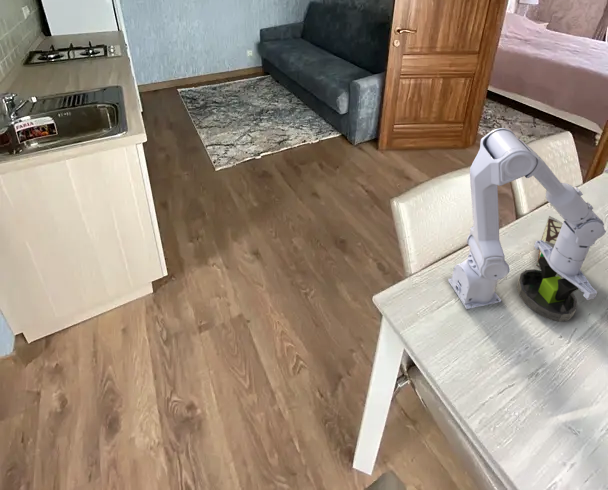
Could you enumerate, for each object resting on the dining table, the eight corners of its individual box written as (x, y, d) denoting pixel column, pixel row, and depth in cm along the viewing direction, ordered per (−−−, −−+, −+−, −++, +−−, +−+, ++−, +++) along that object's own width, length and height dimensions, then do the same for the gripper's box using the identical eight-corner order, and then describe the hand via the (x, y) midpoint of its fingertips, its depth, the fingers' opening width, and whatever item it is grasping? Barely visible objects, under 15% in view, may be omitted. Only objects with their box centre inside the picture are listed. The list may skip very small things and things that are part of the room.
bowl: (571, 333, 77) (575, 324, 76) (512, 302, 84) (515, 293, 82) (574, 295, 85) (578, 287, 84) (520, 269, 92) (523, 261, 91)
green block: (548, 303, 83) (554, 290, 81) (538, 291, 86) (543, 278, 84) (564, 300, 84) (570, 287, 82) (553, 288, 87) (558, 275, 85)
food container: (563, 283, 88) (575, 254, 85) (535, 270, 92) (545, 242, 88) (565, 251, 97) (576, 224, 94) (539, 241, 101) (549, 214, 97)
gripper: (616, 275, 73) (595, 317, 78) (557, 224, 86) (542, 264, 91) (588, 281, 72) (569, 323, 77) (533, 228, 85) (519, 268, 90)
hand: (553, 291), depth 84 cm, fingers closed on green block, 3 cm apart
